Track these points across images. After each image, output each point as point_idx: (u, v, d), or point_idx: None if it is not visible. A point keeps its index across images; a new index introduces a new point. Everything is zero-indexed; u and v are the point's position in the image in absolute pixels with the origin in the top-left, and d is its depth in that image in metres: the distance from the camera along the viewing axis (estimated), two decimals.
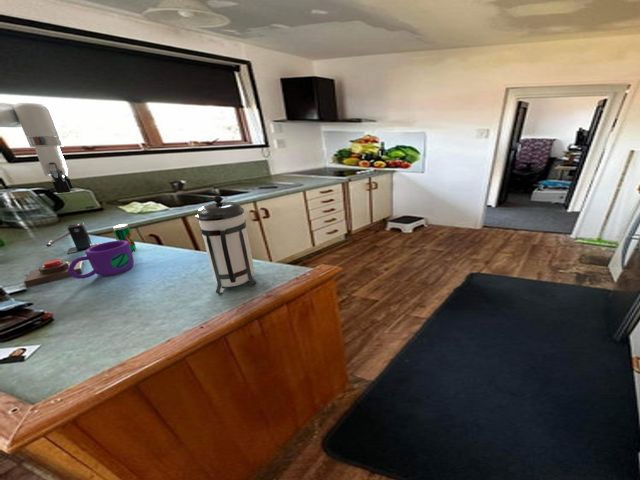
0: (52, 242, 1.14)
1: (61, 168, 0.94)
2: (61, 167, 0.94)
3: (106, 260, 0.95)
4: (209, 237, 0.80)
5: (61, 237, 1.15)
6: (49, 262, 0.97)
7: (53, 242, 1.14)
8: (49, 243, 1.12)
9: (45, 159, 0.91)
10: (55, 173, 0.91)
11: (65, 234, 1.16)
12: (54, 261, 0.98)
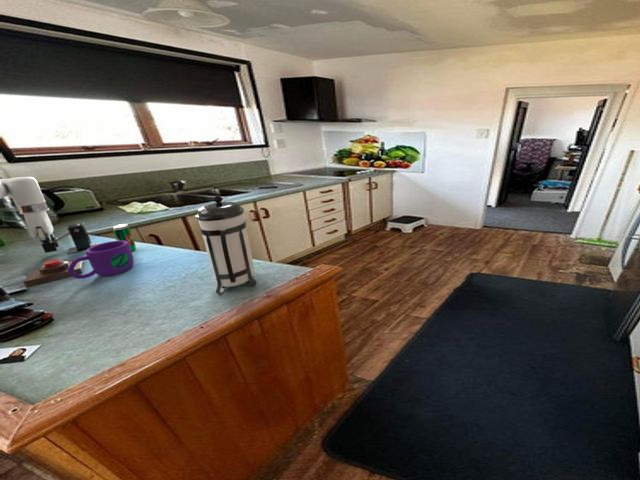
0: None
1: (47, 230, 1.09)
2: (47, 229, 1.09)
3: (106, 260, 0.95)
4: (209, 237, 0.80)
5: (61, 237, 1.15)
6: (49, 262, 0.97)
7: None
8: None
9: (32, 224, 1.06)
10: (43, 239, 1.08)
11: (65, 234, 1.16)
12: (54, 261, 0.98)
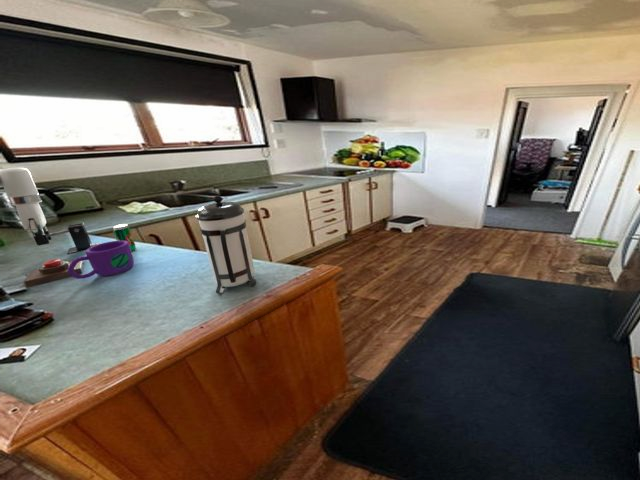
0: None
1: (39, 222, 1.07)
2: (39, 221, 1.07)
3: (106, 260, 0.95)
4: (209, 237, 0.80)
5: (57, 233, 1.14)
6: (49, 262, 0.97)
7: (47, 236, 1.12)
8: None
9: (24, 216, 1.04)
10: (36, 231, 1.06)
11: (63, 231, 1.15)
12: (54, 261, 0.98)
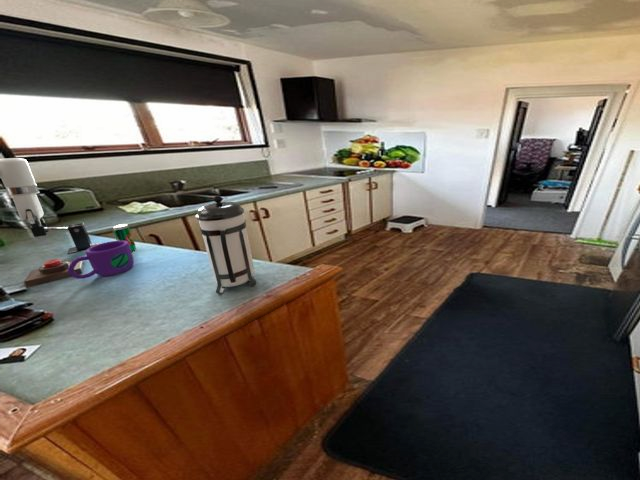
0: None
1: (36, 213, 1.06)
2: (36, 212, 1.06)
3: (106, 260, 0.95)
4: (209, 237, 0.80)
5: (56, 229, 1.14)
6: (49, 262, 0.97)
7: (45, 229, 1.11)
8: None
9: (21, 206, 1.03)
10: (33, 222, 1.05)
11: (62, 228, 1.15)
12: (54, 261, 0.98)
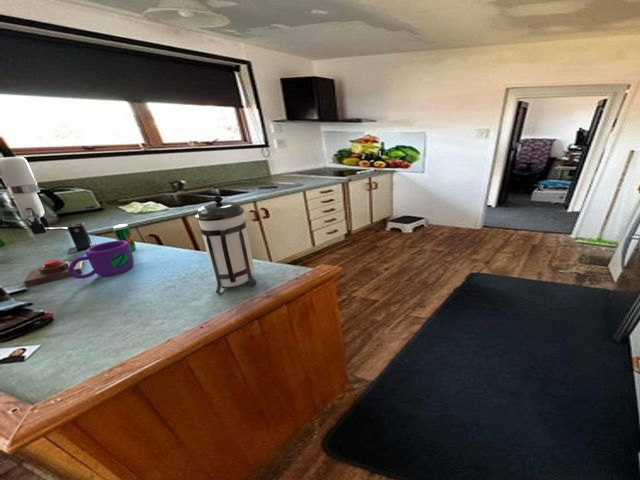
0: None
1: (37, 212, 1.06)
2: (37, 211, 1.06)
3: (106, 260, 0.95)
4: (209, 237, 0.80)
5: (56, 229, 1.14)
6: (49, 262, 0.97)
7: None
8: None
9: (22, 205, 1.03)
10: (31, 218, 1.04)
11: (62, 228, 1.15)
12: (54, 261, 0.98)
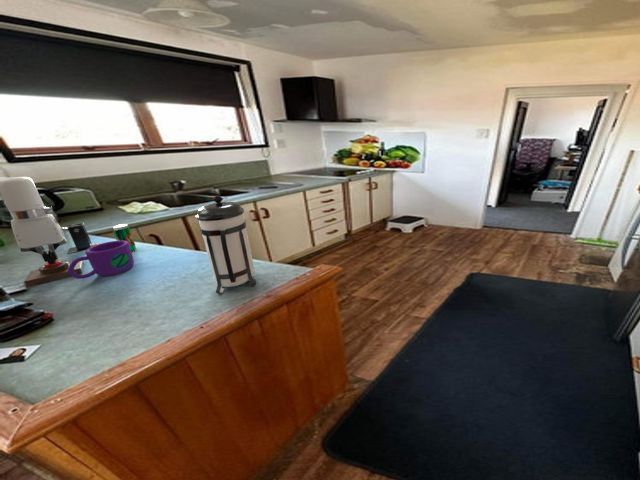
0: None
1: None
2: (17, 242, 0.90)
3: (106, 260, 0.95)
4: (209, 237, 0.80)
5: None
6: None
7: None
8: None
9: None
10: None
11: (62, 228, 1.15)
12: None
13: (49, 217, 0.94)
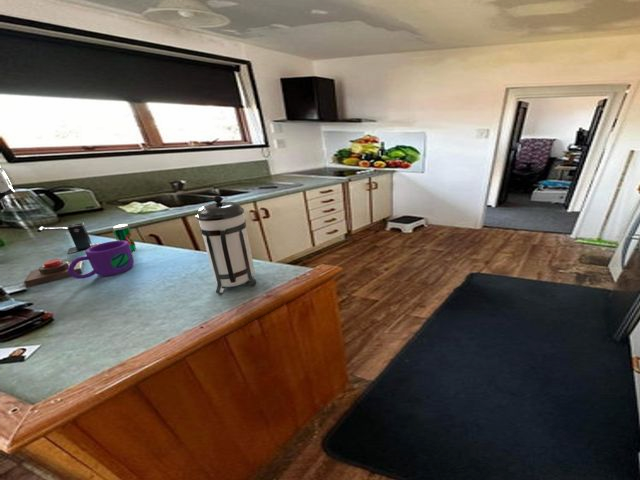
0: (44, 229, 1.11)
1: None
2: None
3: (106, 260, 0.95)
4: (209, 237, 0.80)
5: (56, 229, 1.14)
6: (49, 262, 0.97)
7: (45, 230, 1.11)
8: (41, 229, 1.10)
9: None
10: None
11: (62, 228, 1.15)
12: (54, 261, 0.98)
13: None
